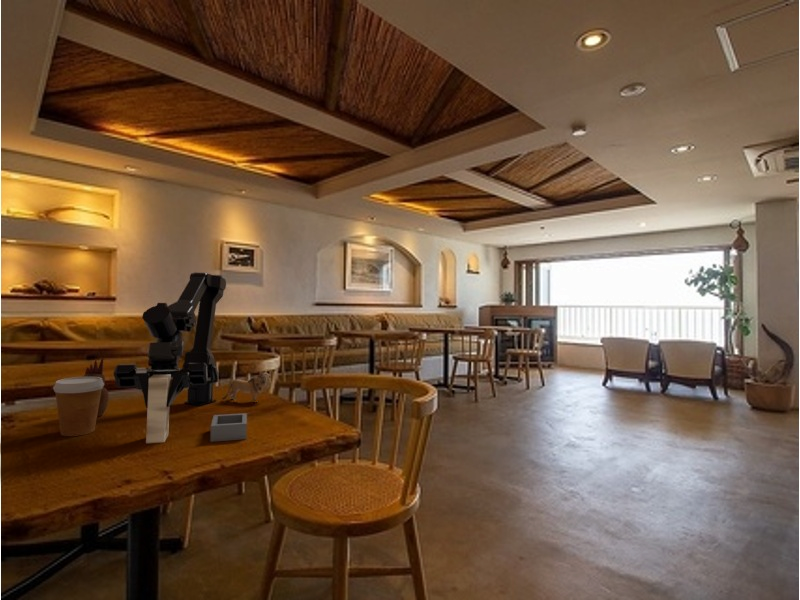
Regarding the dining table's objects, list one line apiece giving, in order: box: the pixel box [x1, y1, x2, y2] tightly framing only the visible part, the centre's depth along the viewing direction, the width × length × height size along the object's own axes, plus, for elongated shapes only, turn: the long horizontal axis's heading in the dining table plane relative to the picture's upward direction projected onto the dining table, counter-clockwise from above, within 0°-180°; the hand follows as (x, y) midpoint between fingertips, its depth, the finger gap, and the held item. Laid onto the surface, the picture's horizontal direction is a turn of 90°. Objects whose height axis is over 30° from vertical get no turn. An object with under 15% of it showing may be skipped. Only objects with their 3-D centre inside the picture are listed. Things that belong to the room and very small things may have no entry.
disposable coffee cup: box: [52, 376, 105, 437], centre depth 99 cm, size 10×10×12 cm
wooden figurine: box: [82, 358, 110, 418], centre depth 111 cm, size 7×6×15 cm
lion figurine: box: [221, 372, 272, 402], centre depth 132 cm, size 15×5×9 cm, turn 94°
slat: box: [145, 374, 172, 444], centre depth 95 cm, size 5×4×14 cm
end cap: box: [209, 412, 248, 442], centre depth 100 cm, size 9×8×4 cm
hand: (157, 406), depth 94 cm, fingers closed on slat, 4 cm apart
